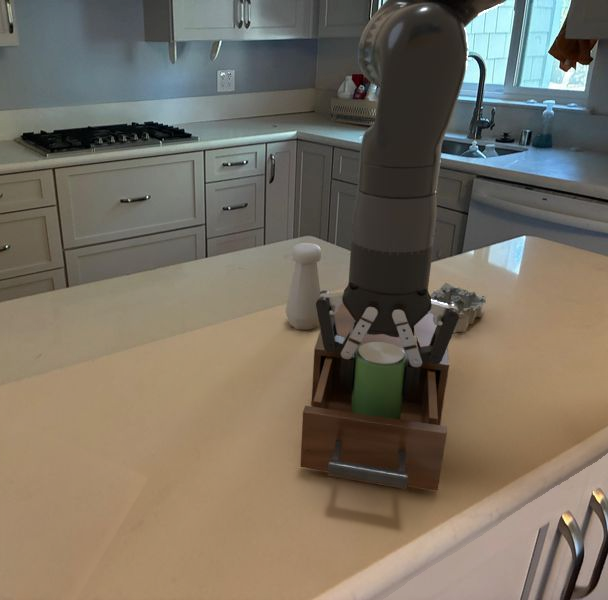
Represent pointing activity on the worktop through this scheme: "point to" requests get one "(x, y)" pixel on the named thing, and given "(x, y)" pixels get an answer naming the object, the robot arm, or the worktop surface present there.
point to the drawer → (374, 435)
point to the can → (378, 380)
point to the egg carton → (460, 304)
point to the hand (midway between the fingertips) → (378, 388)
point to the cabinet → (424, 334)
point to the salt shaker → (304, 287)
